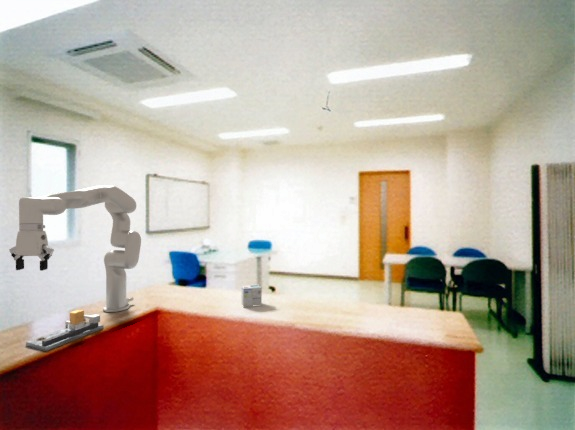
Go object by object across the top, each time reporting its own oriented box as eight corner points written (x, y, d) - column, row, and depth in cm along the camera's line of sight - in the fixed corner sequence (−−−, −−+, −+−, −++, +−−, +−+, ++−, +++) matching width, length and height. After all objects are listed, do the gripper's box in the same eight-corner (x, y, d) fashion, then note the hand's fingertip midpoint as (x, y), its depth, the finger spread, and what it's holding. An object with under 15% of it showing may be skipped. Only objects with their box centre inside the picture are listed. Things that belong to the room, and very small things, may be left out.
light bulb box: (259, 302, 181) (259, 284, 181) (261, 306, 175) (262, 287, 175) (241, 304, 178) (241, 285, 178) (243, 307, 171) (243, 288, 171)
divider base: (84, 324, 145) (84, 311, 144) (103, 328, 140) (103, 315, 140) (26, 345, 122) (25, 330, 122) (46, 351, 118) (45, 335, 118)
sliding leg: (70, 326, 136) (70, 307, 136) (84, 329, 133) (84, 310, 133) (61, 329, 133) (61, 310, 132) (75, 333, 129) (75, 313, 129)
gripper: (59, 227, 129) (59, 268, 130) (18, 226, 129) (18, 267, 130) (45, 228, 122) (45, 272, 122) (1, 228, 122) (2, 271, 122)
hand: (31, 269), depth 126 cm, fingers open, 9 cm apart
